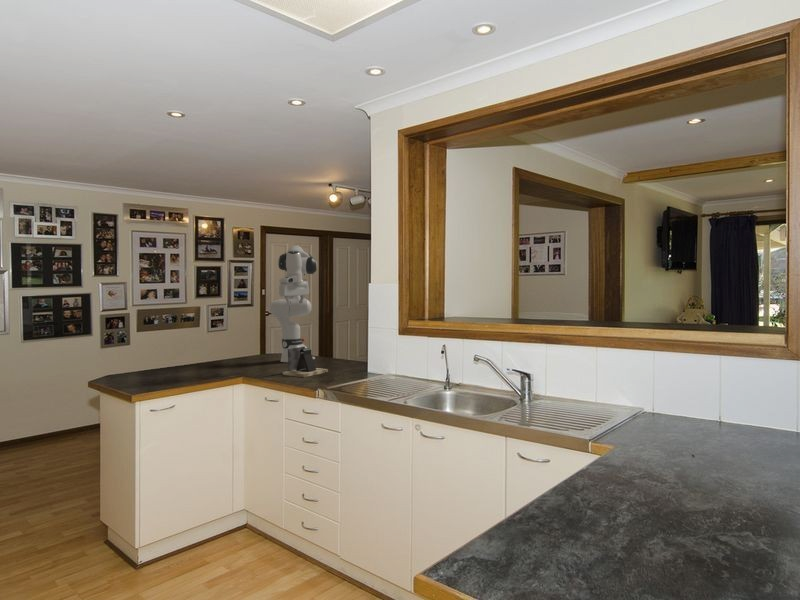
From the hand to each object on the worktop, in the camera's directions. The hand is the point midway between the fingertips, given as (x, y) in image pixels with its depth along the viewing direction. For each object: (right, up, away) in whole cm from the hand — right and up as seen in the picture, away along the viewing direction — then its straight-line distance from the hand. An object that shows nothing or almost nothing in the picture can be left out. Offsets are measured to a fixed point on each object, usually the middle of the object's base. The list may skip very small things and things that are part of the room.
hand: (295, 303), depth 302 cm
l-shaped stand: (+8, -38, -14) cm, 41 cm away
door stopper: (+9, -36, -14) cm, 40 cm away
